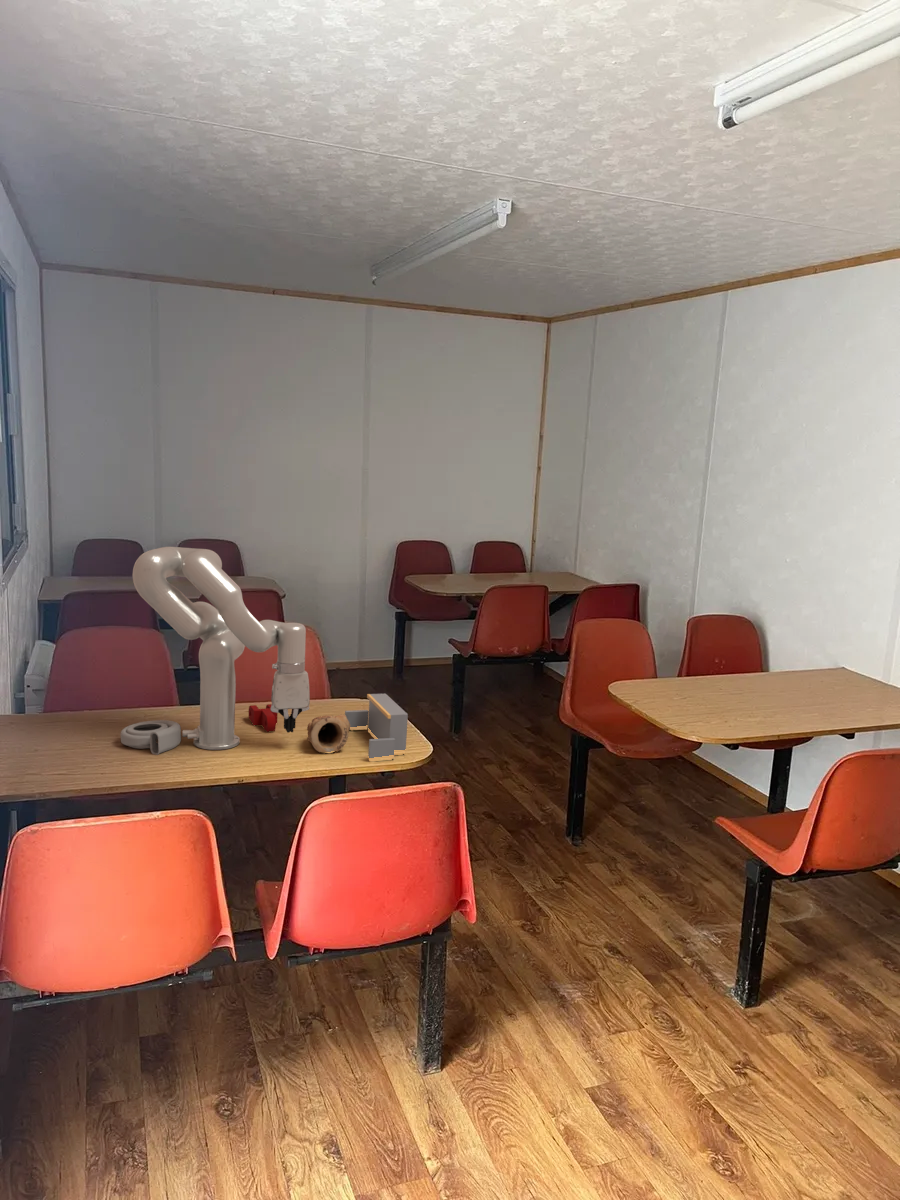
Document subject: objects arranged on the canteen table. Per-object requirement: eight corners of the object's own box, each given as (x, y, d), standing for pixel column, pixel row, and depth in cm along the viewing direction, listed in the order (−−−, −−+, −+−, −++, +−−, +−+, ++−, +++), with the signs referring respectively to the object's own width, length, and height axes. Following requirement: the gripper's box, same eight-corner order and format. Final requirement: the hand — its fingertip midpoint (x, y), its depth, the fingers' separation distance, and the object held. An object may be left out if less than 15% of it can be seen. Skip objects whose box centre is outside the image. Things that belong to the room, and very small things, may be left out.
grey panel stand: (369, 761, 239) (371, 719, 237) (344, 729, 266) (345, 691, 264) (409, 759, 243) (411, 718, 241) (380, 727, 270) (382, 690, 268)
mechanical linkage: (248, 719, 271) (248, 703, 270) (271, 717, 274) (271, 702, 273) (259, 734, 256) (259, 718, 256) (283, 733, 259) (283, 716, 259)
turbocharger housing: (150, 736, 253) (109, 749, 239) (149, 714, 252) (108, 726, 239) (195, 743, 245) (155, 757, 232) (194, 720, 244) (154, 733, 231)
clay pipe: (292, 759, 248) (325, 757, 238) (285, 722, 248) (318, 719, 238) (341, 744, 262) (375, 741, 252) (334, 709, 262) (368, 705, 252)
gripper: (266, 671, 235) (264, 736, 238) (320, 669, 241) (318, 733, 244) (261, 665, 242) (260, 728, 245) (314, 663, 248) (313, 725, 250)
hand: (289, 730), depth 244 cm, fingers closed
